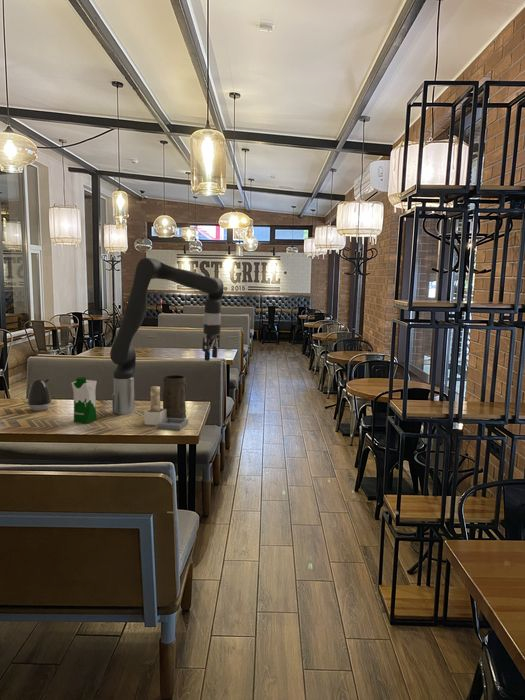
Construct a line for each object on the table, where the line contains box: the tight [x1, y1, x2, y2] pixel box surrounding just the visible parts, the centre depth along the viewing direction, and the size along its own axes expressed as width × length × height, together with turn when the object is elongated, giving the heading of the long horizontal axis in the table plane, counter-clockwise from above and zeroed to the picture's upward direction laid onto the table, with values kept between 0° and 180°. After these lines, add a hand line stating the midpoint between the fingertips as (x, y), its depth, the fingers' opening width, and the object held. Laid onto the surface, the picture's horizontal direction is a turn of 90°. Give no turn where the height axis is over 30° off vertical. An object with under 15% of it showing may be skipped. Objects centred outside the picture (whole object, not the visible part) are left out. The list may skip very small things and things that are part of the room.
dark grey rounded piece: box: [27, 378, 52, 412], centre depth 231 cm, size 10×10×15 cm
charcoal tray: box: [157, 418, 189, 431], centre depth 209 cm, size 10×10×2 cm
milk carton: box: [71, 376, 98, 424], centre depth 214 cm, size 9×9×20 cm
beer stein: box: [162, 374, 187, 419], centre depth 223 cm, size 15×11×20 cm
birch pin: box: [150, 385, 161, 413], centre depth 212 cm, size 4×4×16 cm
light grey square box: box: [143, 407, 166, 426], centre depth 213 cm, size 7×7×6 cm
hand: (210, 359), depth 216 cm, fingers open, 8 cm apart
